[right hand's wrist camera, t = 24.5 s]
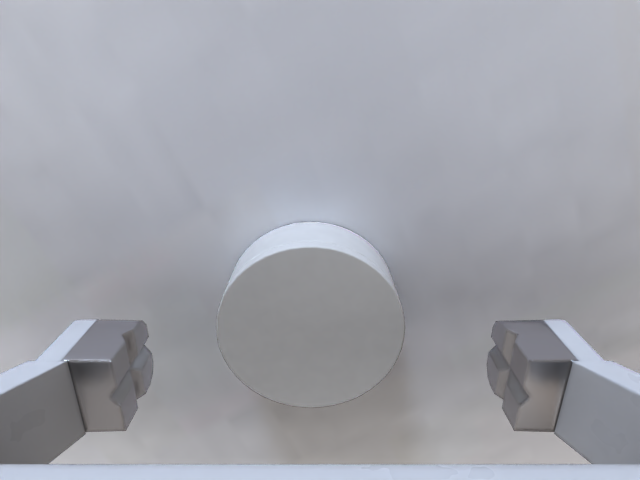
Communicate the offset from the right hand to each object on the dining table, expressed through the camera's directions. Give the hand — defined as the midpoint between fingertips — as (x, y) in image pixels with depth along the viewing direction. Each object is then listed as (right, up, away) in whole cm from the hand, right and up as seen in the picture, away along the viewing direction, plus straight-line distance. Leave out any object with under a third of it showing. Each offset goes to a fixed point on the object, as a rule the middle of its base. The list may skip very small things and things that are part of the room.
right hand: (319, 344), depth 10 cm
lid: (0, 0, +1) cm, 1 cm away
